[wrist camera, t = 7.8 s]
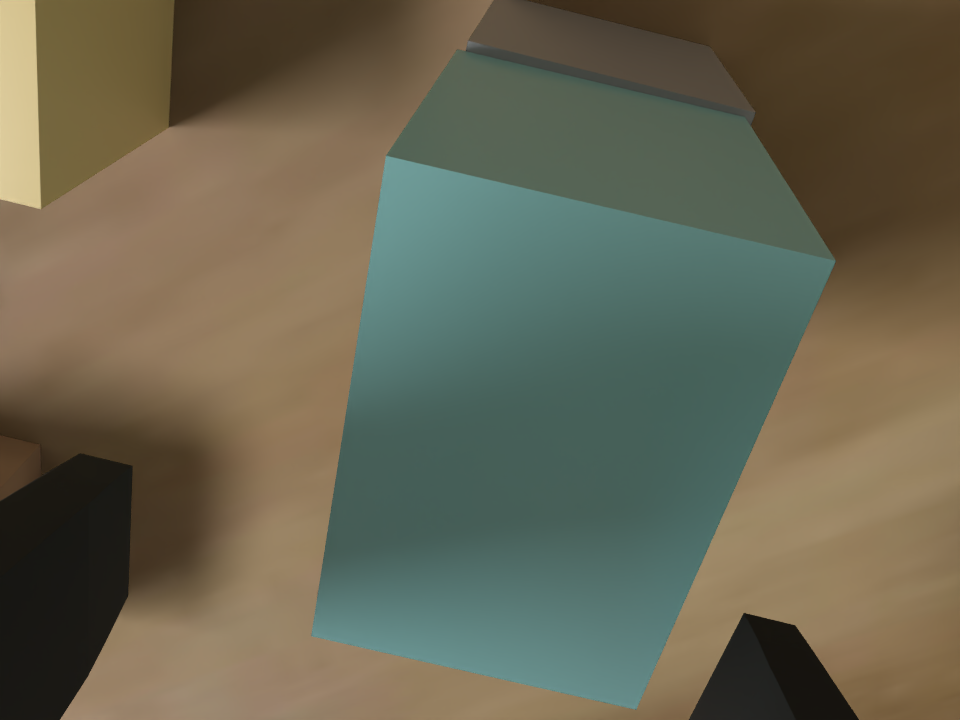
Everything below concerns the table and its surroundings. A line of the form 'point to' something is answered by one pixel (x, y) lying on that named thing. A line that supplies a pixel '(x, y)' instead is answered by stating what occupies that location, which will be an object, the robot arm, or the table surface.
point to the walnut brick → (18, 464)
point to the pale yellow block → (78, 89)
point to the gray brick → (607, 54)
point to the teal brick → (557, 375)
